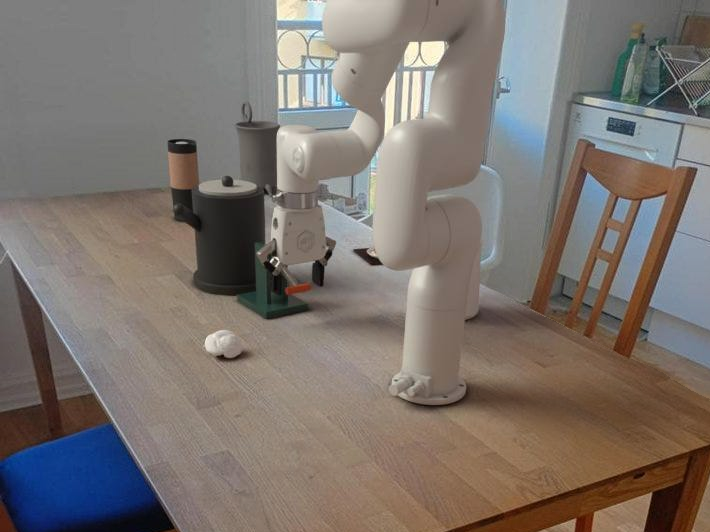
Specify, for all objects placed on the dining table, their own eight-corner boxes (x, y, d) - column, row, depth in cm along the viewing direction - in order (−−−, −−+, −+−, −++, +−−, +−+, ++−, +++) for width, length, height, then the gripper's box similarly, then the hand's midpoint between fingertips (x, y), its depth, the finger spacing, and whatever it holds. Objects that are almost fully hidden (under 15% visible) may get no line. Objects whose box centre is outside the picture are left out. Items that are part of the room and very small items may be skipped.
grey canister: (293, 194, 246) (292, 107, 233) (250, 199, 239) (247, 109, 226) (265, 182, 260) (263, 99, 246) (224, 186, 253) (220, 100, 239)
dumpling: (232, 347, 145) (236, 328, 143) (243, 362, 142) (248, 343, 140) (197, 348, 141) (201, 328, 139) (208, 363, 138) (212, 344, 136)
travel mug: (170, 216, 220) (163, 139, 209) (197, 214, 222) (192, 138, 212) (177, 223, 214) (170, 144, 203) (204, 221, 217) (199, 143, 206)
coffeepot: (417, 332, 154) (425, 236, 144) (433, 291, 175) (440, 204, 165) (472, 338, 153) (484, 241, 143) (481, 296, 173) (492, 209, 163)
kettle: (285, 286, 174) (283, 179, 162) (198, 303, 163) (190, 190, 151) (240, 262, 187) (236, 162, 175) (157, 276, 176) (147, 170, 164)
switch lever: (309, 293, 156) (312, 284, 154) (287, 298, 153) (290, 289, 151) (277, 251, 161) (280, 241, 159) (255, 255, 158) (257, 245, 156)
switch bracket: (308, 309, 162) (308, 248, 156) (266, 319, 157) (264, 255, 150) (277, 292, 170) (276, 233, 163) (237, 300, 165) (234, 239, 158)
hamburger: (416, 261, 193) (418, 238, 190) (371, 265, 189) (372, 242, 186) (396, 247, 202) (398, 225, 200) (353, 250, 199) (354, 228, 196)
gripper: (267, 209, 138) (269, 302, 147) (347, 198, 147) (344, 287, 156) (246, 199, 142) (249, 290, 152) (324, 189, 151) (322, 276, 161)
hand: (297, 288), depth 154 cm, fingers open, 9 cm apart
